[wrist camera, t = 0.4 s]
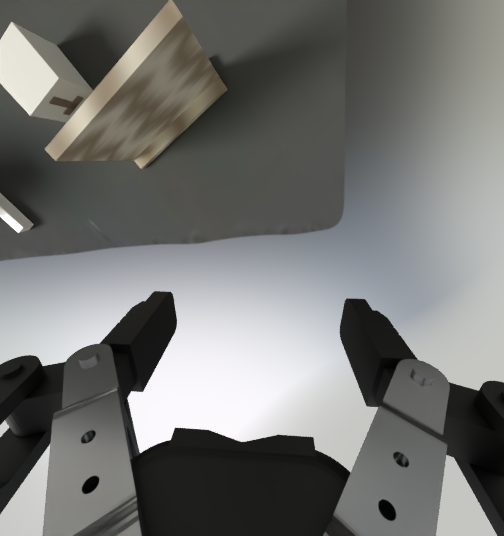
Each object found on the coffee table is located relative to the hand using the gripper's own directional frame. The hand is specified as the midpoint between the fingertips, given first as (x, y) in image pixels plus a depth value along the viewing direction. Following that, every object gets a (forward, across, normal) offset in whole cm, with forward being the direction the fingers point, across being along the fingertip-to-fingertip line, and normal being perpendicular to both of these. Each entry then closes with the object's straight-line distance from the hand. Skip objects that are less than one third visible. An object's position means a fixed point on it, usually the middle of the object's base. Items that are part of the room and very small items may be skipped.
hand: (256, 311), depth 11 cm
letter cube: (+29, +28, -15) cm, 42 cm away
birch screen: (+28, +13, -11) cm, 33 cm away
